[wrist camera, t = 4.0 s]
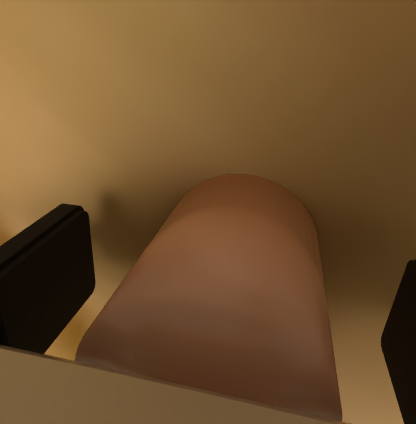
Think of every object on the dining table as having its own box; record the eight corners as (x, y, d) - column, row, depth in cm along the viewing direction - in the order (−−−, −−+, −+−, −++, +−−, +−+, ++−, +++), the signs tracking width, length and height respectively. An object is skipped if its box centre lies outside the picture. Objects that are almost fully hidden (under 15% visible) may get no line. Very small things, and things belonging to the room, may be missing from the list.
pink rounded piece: (332, 184, 10) (377, 330, 5) (303, 316, 13) (313, 515, 7) (168, 164, 11) (58, 273, 6) (167, 291, 13) (87, 454, 8)
